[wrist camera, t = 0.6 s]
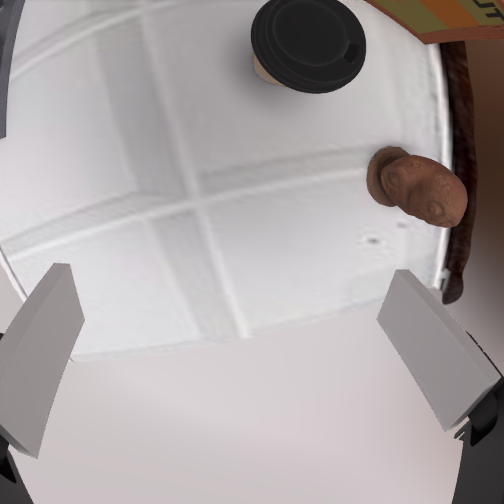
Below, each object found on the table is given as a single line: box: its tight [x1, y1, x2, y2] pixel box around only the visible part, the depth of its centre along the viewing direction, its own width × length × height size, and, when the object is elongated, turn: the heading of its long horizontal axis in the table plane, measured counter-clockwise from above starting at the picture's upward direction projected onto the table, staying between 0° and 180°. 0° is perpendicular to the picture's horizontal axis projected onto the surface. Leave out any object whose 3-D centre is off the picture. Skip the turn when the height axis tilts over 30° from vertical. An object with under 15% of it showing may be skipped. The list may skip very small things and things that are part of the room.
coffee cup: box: [251, 0, 366, 94], centre depth 22 cm, size 9×9×15 cm
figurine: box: [366, 146, 467, 228], centre depth 31 cm, size 9×10×15 cm
